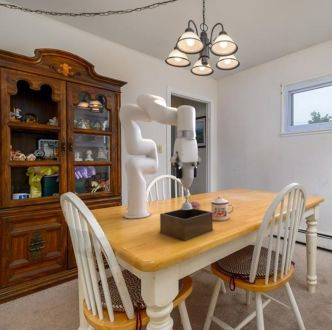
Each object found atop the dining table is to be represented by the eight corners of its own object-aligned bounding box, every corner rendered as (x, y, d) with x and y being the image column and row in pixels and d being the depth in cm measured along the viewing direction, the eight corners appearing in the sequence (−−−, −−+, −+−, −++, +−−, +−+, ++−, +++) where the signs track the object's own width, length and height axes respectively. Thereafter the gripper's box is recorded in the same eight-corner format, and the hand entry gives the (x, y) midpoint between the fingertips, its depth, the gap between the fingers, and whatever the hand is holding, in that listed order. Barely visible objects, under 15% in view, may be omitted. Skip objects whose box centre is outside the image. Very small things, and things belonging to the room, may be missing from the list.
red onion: (191, 217, 118) (191, 194, 117) (181, 214, 123) (181, 193, 123) (203, 214, 124) (203, 193, 124) (194, 211, 130) (194, 191, 129)
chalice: (190, 210, 91) (190, 166, 90) (175, 210, 92) (175, 166, 92) (197, 207, 98) (197, 166, 97) (182, 206, 99) (182, 165, 99)
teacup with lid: (211, 221, 111) (211, 198, 110) (210, 216, 120) (210, 194, 119) (235, 220, 112) (235, 197, 112) (232, 215, 121) (232, 194, 121)
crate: (160, 232, 94) (160, 213, 94) (188, 223, 106) (188, 207, 106) (184, 240, 85) (184, 220, 84) (212, 230, 97) (212, 212, 97)
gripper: (195, 137, 103) (195, 176, 104) (163, 134, 89) (163, 178, 90) (207, 137, 99) (207, 176, 99) (175, 133, 85) (175, 180, 85)
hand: (186, 177), depth 95 cm, fingers closed on chalice, 7 cm apart
